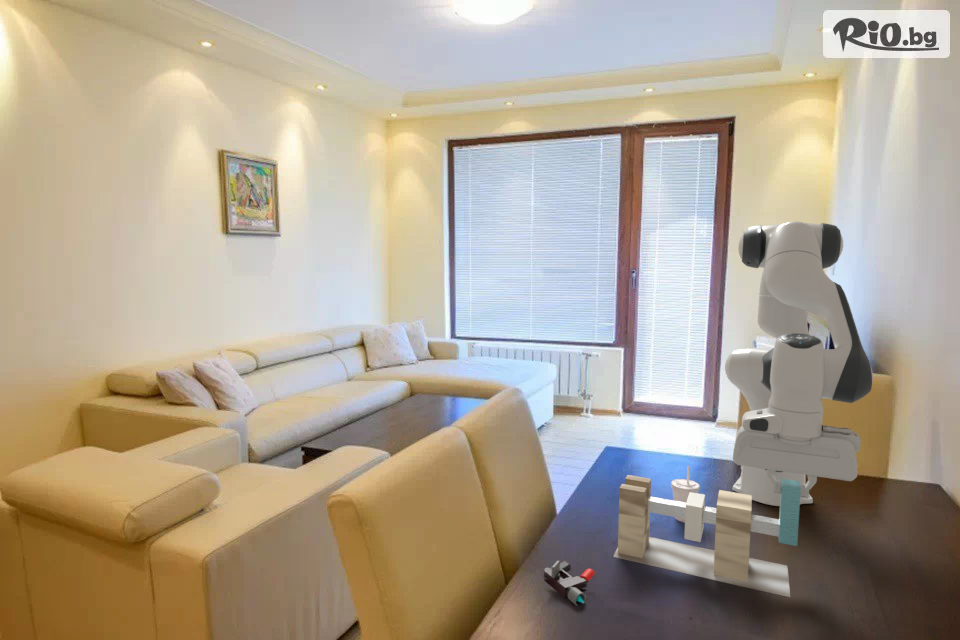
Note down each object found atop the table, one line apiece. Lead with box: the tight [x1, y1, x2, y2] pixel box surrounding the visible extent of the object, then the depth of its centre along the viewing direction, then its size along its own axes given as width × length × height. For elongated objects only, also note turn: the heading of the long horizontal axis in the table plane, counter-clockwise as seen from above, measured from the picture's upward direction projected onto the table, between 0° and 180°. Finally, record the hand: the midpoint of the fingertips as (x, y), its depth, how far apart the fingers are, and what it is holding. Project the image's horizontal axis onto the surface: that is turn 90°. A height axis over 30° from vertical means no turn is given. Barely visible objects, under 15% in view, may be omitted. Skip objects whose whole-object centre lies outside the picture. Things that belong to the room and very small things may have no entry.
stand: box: [613, 474, 791, 598], centre depth 113 cm, size 12×32×15 cm, turn 64°
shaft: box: [648, 479, 801, 547], centre depth 111 cm, size 4×27×11 cm, turn 64°
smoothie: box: [670, 465, 701, 523], centre depth 133 cm, size 6×6×14 cm
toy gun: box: [543, 560, 596, 606], centre depth 107 cm, size 10×12×5 cm
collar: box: [683, 492, 706, 543], centre depth 114 cm, size 7×3×7 cm, turn 154°
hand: (790, 494), depth 106 cm, fingers closed on shaft, 3 cm apart
